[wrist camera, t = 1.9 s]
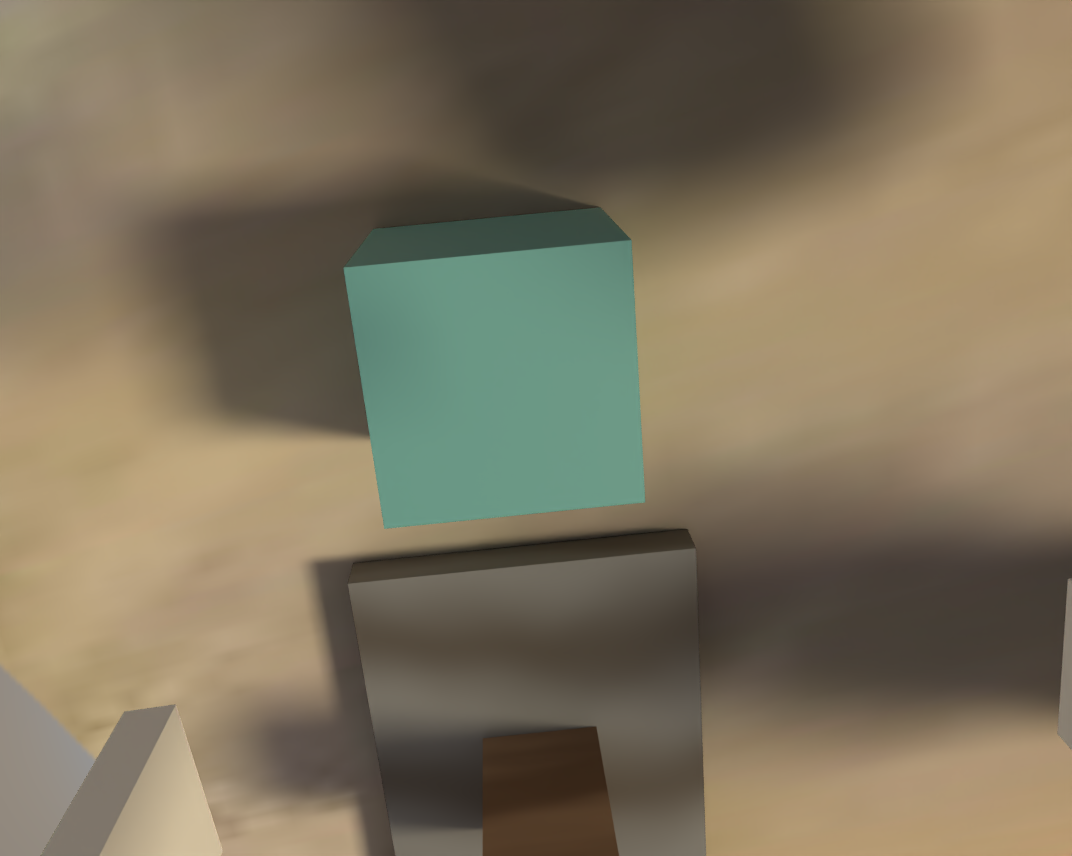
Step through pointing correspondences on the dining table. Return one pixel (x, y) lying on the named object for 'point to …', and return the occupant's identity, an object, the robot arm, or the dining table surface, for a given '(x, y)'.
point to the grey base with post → (537, 697)
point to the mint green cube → (499, 366)
